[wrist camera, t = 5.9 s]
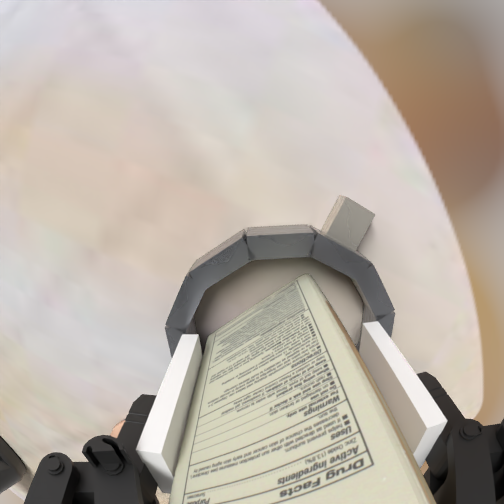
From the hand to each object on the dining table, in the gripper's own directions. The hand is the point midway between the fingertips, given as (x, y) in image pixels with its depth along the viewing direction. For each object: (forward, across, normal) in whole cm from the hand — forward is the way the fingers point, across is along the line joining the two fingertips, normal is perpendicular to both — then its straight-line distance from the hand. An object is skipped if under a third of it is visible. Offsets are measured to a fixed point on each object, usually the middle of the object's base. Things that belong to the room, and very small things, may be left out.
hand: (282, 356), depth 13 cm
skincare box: (+2, 0, 0) cm, 2 cm away
